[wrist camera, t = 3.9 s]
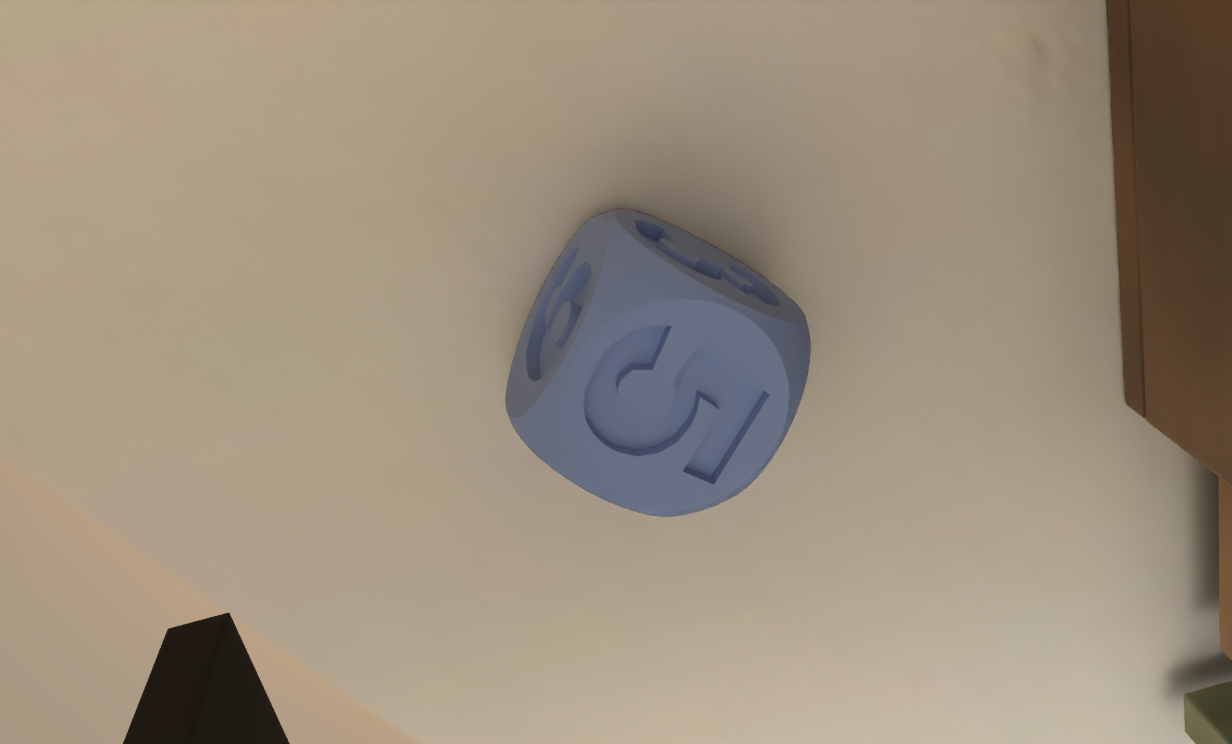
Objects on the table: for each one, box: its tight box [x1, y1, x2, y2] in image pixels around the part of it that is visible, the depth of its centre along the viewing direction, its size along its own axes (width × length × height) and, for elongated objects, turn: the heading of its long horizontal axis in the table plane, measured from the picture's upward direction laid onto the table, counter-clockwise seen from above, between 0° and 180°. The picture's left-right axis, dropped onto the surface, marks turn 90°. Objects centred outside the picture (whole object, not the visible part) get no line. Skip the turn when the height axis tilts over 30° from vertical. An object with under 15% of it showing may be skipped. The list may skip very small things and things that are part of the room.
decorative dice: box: [506, 209, 811, 517], centre depth 20 cm, size 4×4×4 cm
